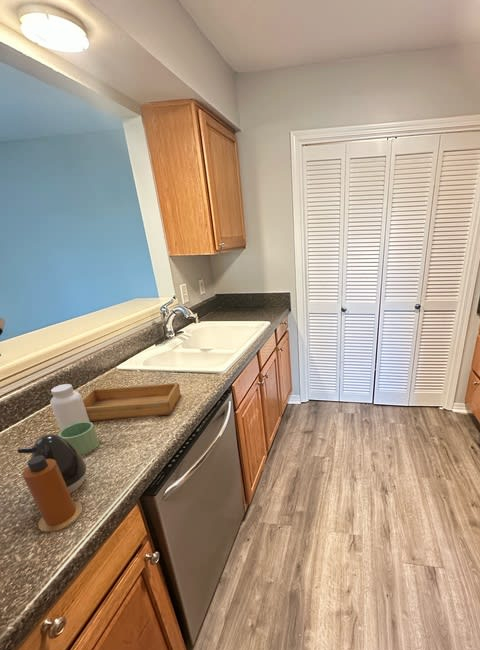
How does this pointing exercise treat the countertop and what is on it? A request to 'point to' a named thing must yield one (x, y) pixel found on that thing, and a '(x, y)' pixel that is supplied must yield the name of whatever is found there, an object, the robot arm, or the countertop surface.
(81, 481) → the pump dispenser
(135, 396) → the tray
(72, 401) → the pill bottle
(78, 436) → the cup
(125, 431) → the countertop surface
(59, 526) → the coaster
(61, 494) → the bottle
